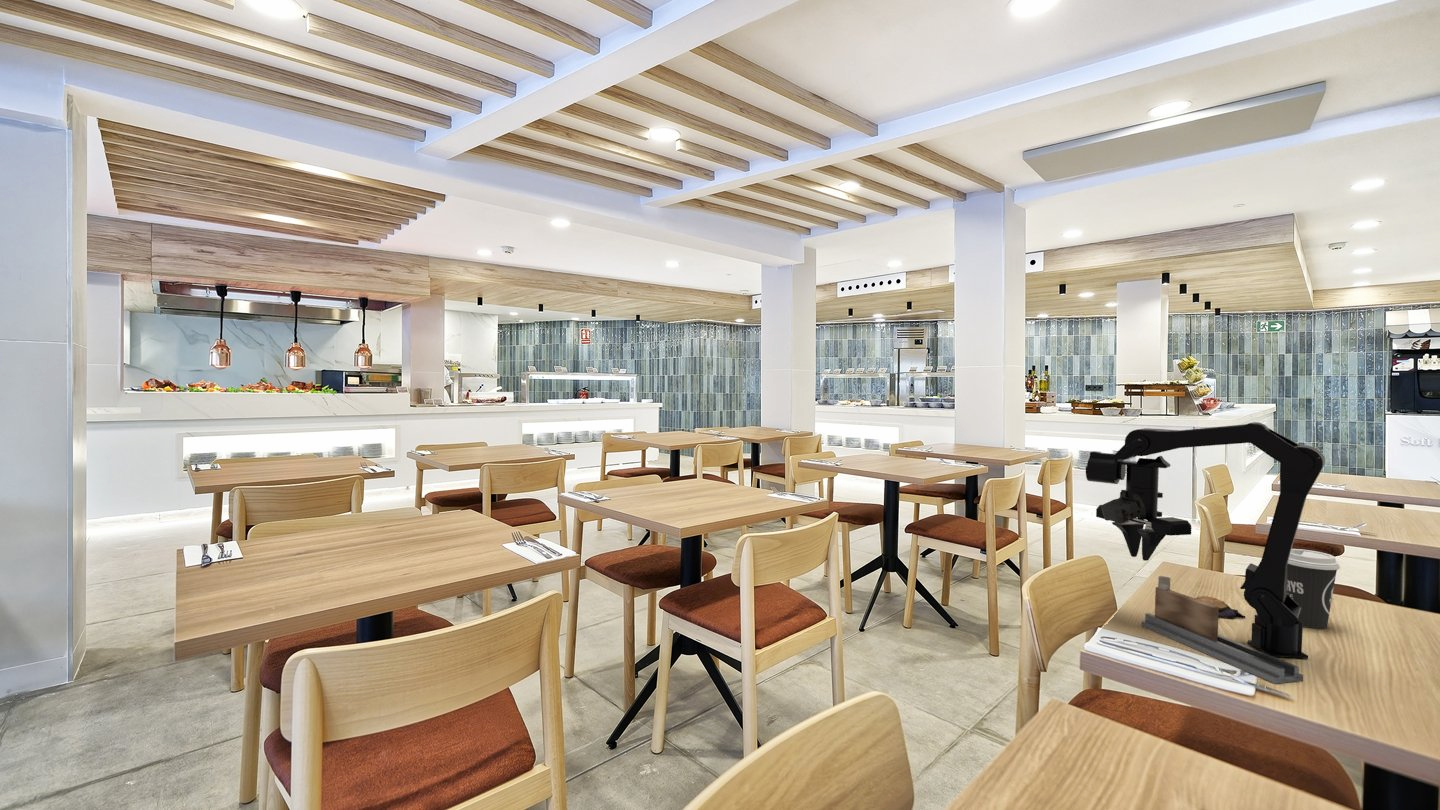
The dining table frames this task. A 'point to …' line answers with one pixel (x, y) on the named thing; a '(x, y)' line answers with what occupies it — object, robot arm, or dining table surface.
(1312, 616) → the coffee cup
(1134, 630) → the dining table surface
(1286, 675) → the track
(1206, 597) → the bread roll
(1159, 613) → the screen
